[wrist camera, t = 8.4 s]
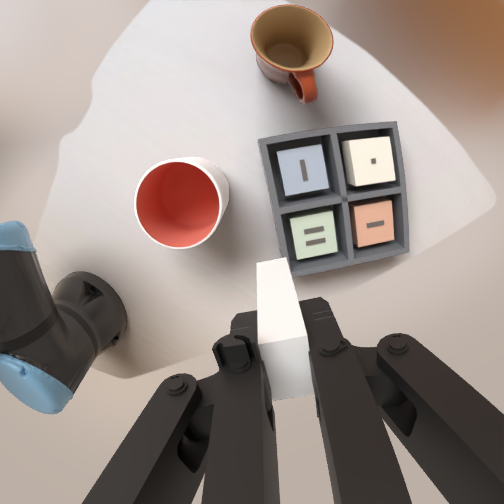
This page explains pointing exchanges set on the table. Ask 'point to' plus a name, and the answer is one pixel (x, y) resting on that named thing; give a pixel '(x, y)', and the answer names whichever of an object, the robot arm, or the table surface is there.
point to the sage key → (312, 232)
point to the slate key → (302, 169)
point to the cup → (181, 201)
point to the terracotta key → (371, 221)
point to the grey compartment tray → (336, 196)
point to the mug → (292, 47)
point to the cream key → (368, 160)
